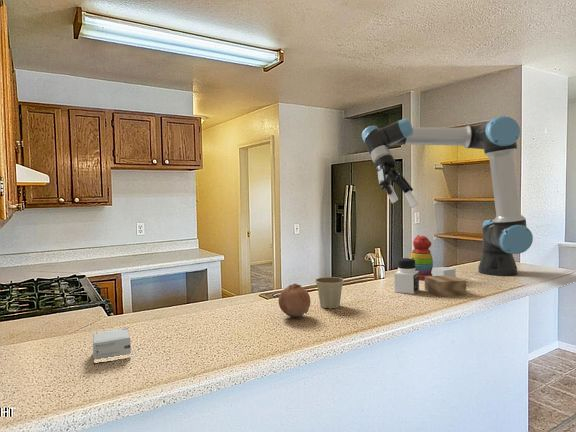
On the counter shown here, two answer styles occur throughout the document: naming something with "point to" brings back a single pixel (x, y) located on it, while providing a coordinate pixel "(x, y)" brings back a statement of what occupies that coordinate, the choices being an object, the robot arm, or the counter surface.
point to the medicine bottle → (406, 277)
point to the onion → (294, 301)
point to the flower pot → (329, 291)
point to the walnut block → (445, 285)
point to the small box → (111, 343)
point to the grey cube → (443, 271)
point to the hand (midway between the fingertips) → (405, 203)
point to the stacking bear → (422, 256)
